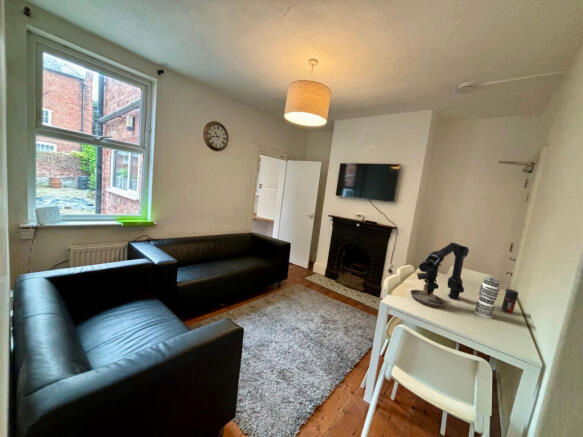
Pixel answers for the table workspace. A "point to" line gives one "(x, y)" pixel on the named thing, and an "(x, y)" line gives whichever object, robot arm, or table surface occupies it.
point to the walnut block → (425, 291)
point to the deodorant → (509, 301)
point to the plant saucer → (427, 298)
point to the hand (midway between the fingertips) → (427, 292)
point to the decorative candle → (487, 297)
